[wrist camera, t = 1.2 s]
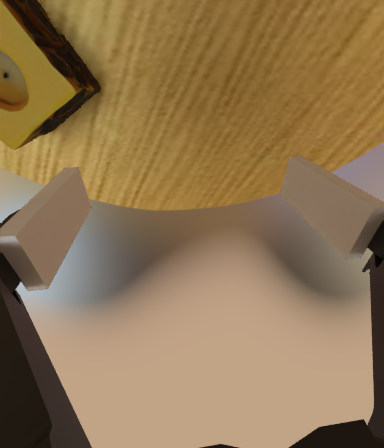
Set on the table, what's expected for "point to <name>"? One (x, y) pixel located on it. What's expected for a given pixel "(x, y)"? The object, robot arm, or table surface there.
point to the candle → (37, 74)
